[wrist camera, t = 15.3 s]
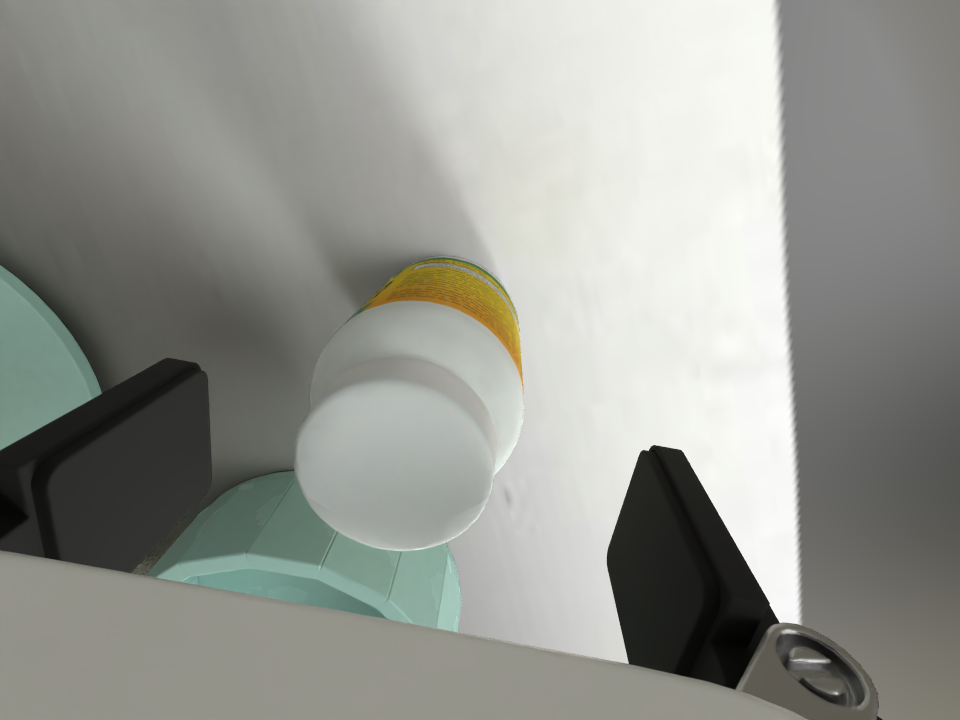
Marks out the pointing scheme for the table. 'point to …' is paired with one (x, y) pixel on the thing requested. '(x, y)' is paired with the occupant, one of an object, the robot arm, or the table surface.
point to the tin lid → (36, 364)
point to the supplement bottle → (414, 408)
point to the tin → (308, 559)
